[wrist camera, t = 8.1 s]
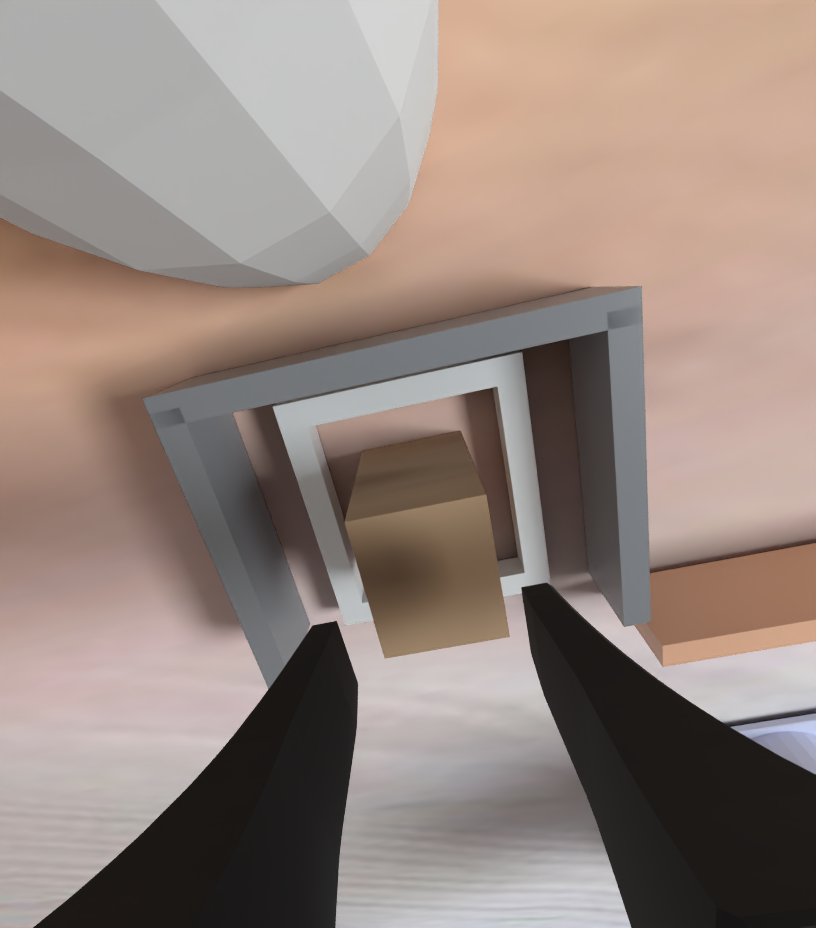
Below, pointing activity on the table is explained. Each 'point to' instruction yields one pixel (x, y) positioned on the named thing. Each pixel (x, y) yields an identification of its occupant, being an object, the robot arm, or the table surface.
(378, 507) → the block
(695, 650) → the orange-brown plank
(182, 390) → the frame
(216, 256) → the soap bottle
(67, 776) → the table surface
